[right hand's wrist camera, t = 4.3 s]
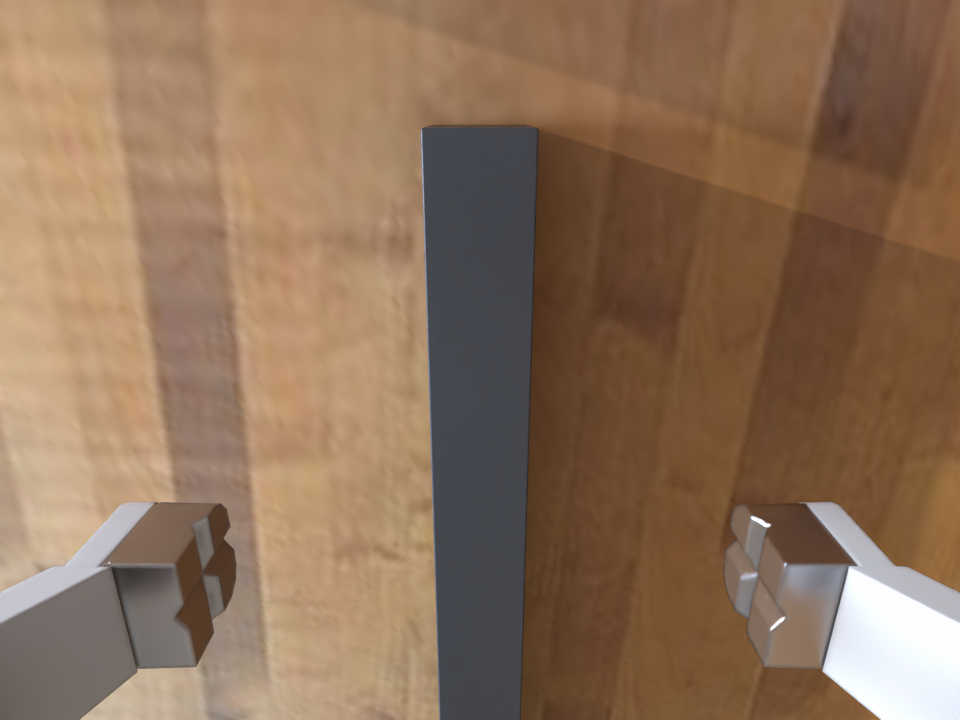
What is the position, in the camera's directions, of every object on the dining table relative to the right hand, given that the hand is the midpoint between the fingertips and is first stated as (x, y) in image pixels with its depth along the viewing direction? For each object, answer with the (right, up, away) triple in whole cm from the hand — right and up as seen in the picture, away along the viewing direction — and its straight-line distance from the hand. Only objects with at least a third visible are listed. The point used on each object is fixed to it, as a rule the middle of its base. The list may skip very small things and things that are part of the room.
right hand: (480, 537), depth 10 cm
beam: (0, -21, +36) cm, 41 cm away
